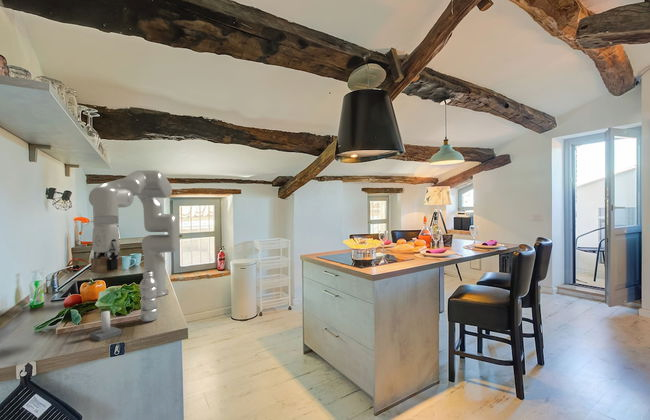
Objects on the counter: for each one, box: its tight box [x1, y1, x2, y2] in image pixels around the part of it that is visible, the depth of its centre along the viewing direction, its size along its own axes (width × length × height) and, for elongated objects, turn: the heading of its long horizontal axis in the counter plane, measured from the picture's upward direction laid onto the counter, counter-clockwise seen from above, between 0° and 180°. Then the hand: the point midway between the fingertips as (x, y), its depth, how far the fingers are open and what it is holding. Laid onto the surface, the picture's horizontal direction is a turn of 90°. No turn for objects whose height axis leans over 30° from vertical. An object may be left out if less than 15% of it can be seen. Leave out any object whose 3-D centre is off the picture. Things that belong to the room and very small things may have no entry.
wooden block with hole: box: [90, 255, 123, 275], centre depth 111 cm, size 7×7×5 cm
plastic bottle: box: [138, 271, 159, 323], centre depth 122 cm, size 6×7×20 cm
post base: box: [89, 310, 123, 342], centre depth 109 cm, size 7×7×8 cm
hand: (107, 269), depth 111 cm, fingers closed on wooden block with hole, 7 cm apart
